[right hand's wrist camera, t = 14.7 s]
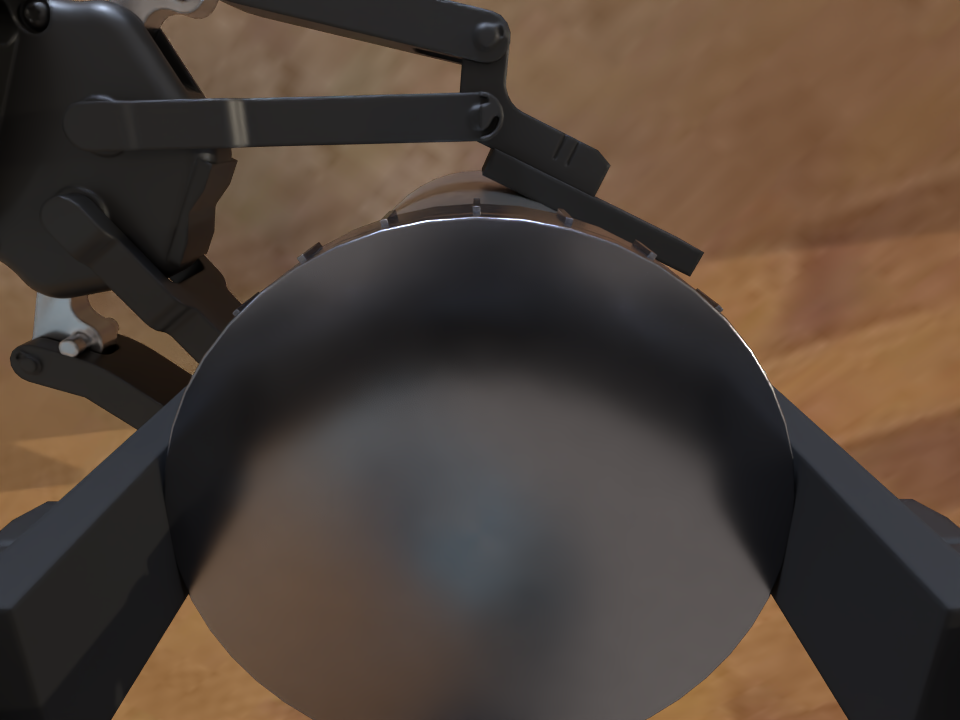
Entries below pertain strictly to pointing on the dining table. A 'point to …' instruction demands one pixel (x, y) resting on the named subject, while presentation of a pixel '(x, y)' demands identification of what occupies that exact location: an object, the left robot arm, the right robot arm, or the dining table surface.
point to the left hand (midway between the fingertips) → (605, 389)
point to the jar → (464, 193)
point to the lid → (479, 475)
